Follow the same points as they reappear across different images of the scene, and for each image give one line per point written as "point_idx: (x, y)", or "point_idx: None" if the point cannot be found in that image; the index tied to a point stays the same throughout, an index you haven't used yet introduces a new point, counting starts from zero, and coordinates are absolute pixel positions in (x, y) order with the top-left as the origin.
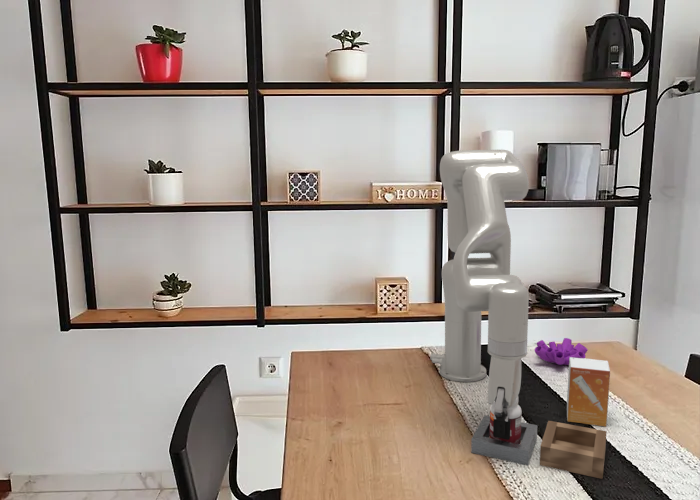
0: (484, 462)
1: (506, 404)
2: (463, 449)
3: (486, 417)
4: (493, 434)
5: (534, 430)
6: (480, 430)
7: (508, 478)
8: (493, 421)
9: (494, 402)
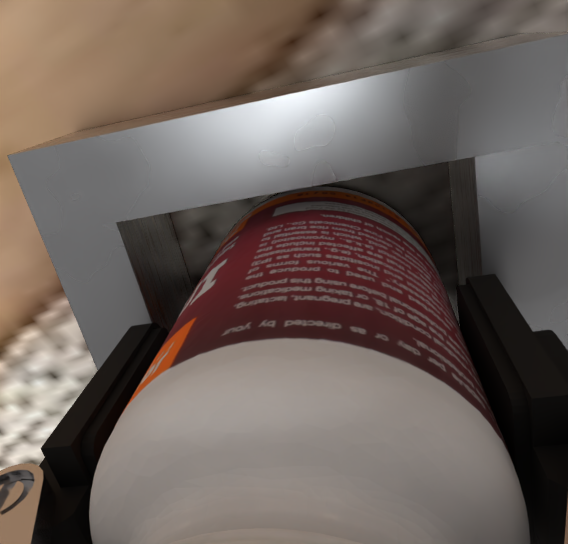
0: (44, 257)
1: None
2: (73, 54)
3: (526, 79)
4: (127, 333)
5: None
6: (205, 155)
7: (13, 412)
8: (67, 415)
9: (275, 458)
